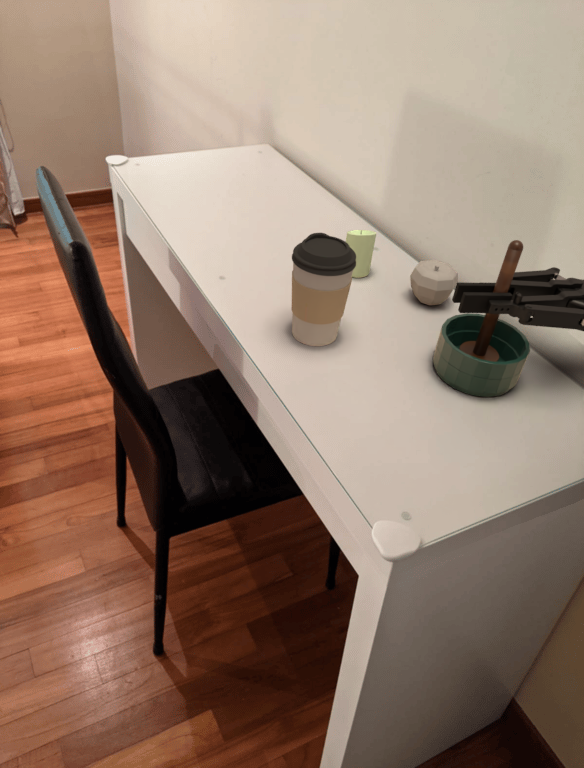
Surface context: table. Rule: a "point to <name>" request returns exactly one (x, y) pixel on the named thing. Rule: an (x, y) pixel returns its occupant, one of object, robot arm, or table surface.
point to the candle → (361, 250)
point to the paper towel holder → (502, 285)
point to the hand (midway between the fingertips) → (458, 297)
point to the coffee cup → (320, 287)
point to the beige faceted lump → (433, 281)
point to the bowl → (473, 371)
